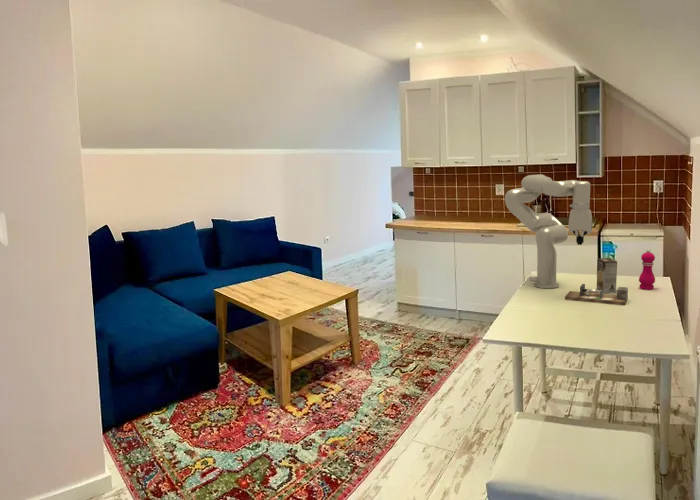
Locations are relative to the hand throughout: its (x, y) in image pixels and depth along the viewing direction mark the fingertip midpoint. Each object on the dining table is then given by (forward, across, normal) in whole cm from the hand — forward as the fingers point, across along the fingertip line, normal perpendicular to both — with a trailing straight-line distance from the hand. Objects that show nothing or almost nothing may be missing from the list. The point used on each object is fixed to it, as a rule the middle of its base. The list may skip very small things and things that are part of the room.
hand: (579, 244), depth 267 cm
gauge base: (+25, +10, -6) cm, 28 cm away
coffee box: (+25, +11, +11) cm, 30 cm away
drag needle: (+23, +13, -10) cm, 28 cm away
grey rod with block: (+23, +7, -6) cm, 25 cm away
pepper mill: (+25, +27, +24) cm, 44 cm away
